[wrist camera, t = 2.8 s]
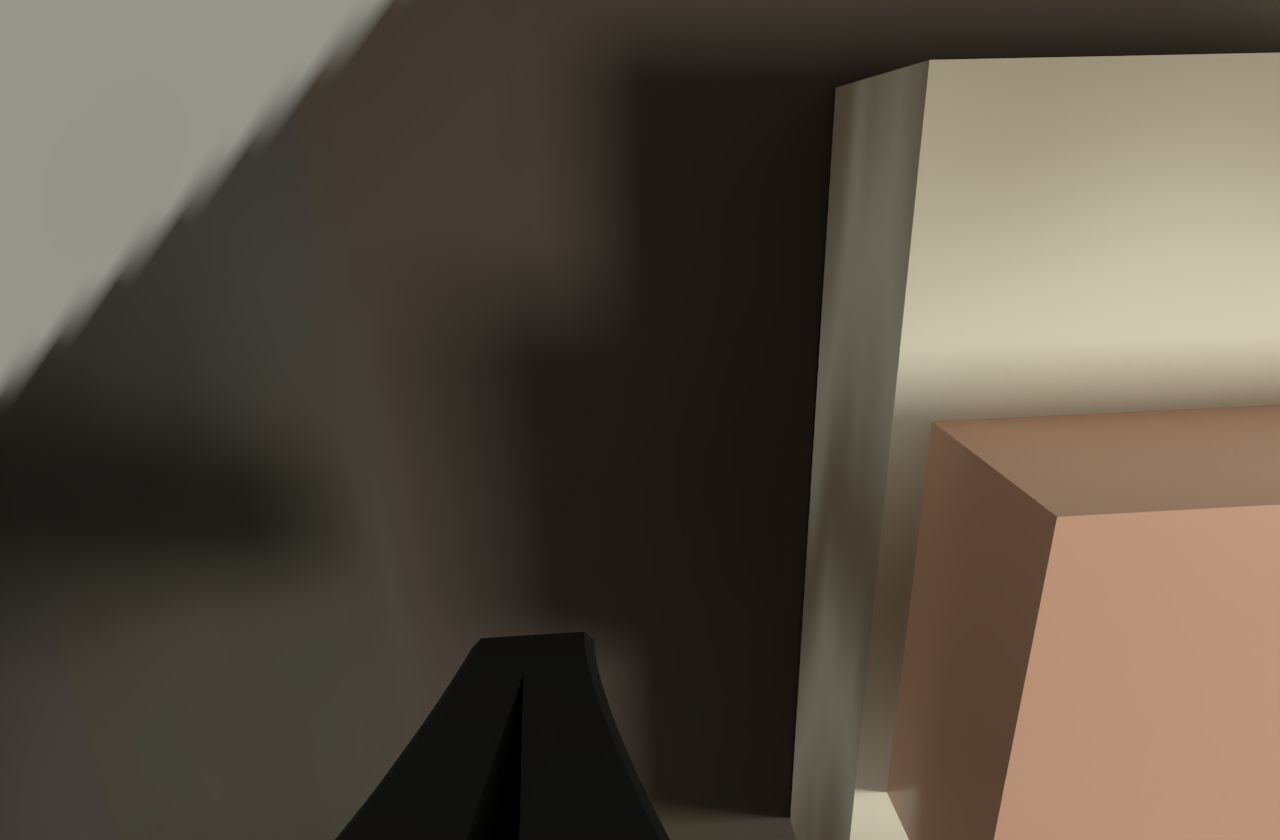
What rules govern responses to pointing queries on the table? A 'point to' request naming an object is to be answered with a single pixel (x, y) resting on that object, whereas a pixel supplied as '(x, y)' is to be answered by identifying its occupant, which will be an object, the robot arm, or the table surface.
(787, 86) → the table surface
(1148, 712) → the tile
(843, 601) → the bench plate
